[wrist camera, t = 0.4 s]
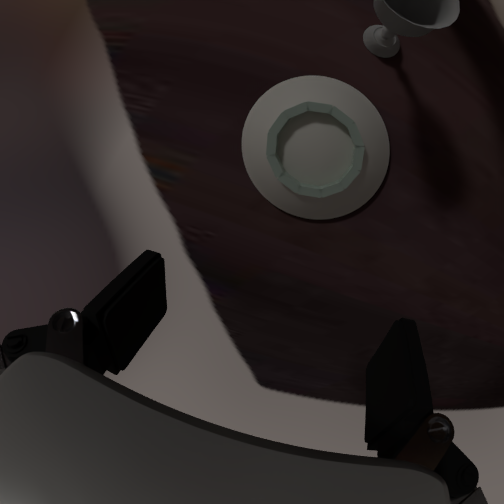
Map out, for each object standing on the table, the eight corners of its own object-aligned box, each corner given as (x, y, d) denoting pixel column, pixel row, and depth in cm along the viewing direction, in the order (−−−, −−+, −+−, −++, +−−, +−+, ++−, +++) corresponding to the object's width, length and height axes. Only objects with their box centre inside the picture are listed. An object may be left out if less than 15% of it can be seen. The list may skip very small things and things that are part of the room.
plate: (352, 56, 28) (353, 53, 26) (406, 193, 34) (410, 197, 32) (219, 113, 36) (213, 113, 34) (279, 234, 43) (276, 241, 41)
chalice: (383, 11, 23) (416, -49, 8) (416, 49, 24) (475, 12, 9) (344, 34, 27) (355, -23, 11) (378, 73, 28) (419, 42, 13)
